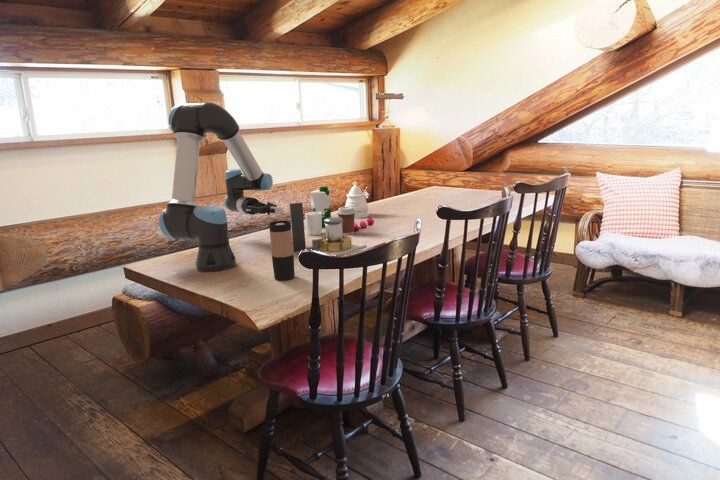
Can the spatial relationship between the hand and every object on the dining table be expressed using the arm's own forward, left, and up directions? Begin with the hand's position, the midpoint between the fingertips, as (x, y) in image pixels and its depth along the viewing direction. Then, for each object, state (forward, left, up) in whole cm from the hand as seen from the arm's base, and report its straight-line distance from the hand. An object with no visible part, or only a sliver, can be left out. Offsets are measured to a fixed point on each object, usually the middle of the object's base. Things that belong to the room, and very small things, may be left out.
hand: (281, 211), depth 222 cm
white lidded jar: (+13, -18, -17) cm, 28 cm away
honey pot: (+68, +23, -17) cm, 74 cm away
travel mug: (-24, -31, -17) cm, 42 cm away
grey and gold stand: (+9, -17, -16) cm, 24 cm away
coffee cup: (+37, -1, -17) cm, 41 cm away
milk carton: (+40, +20, -17) cm, 48 cm away
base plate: (+13, -17, -17) cm, 27 cm away
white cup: (+27, +11, -17) cm, 34 cm away
